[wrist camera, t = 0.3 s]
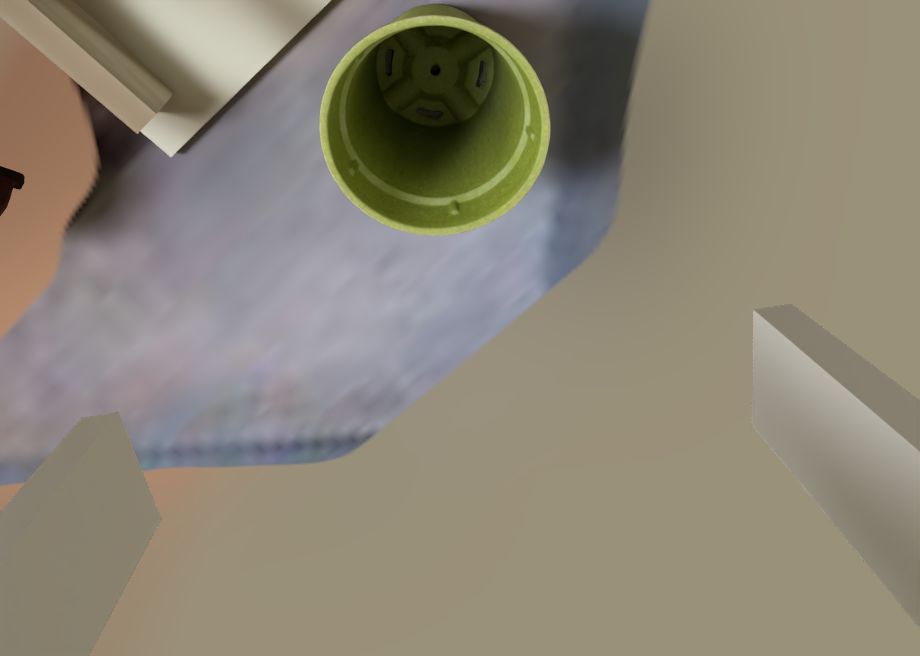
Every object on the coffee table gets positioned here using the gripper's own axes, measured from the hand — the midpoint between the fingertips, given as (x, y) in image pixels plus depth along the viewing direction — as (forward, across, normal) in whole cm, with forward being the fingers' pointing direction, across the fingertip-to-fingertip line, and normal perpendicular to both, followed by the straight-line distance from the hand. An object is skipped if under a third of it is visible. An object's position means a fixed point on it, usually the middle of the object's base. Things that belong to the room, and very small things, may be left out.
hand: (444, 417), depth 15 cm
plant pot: (+25, +1, +5) cm, 26 cm away
